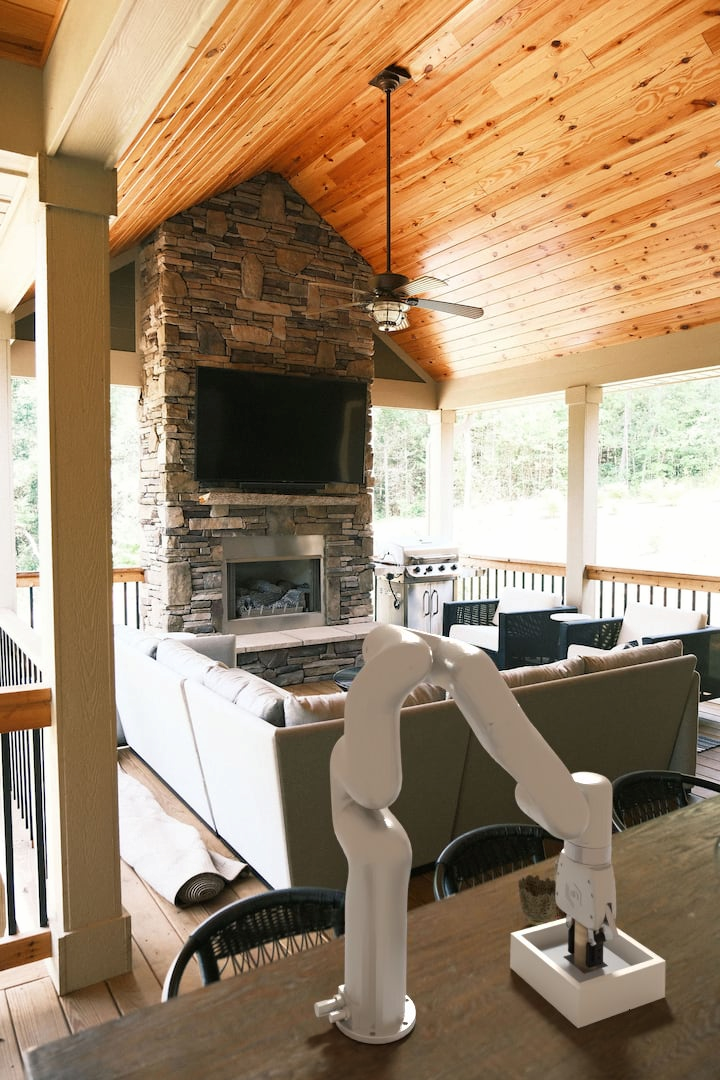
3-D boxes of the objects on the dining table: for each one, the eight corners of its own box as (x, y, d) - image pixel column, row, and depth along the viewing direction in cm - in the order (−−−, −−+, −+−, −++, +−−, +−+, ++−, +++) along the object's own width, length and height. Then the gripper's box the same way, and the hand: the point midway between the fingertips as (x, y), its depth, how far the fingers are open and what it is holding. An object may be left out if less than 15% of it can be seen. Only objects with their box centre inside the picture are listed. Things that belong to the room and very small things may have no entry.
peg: (584, 979, 123) (585, 919, 123) (569, 967, 127) (570, 908, 126) (601, 973, 125) (602, 914, 125) (586, 961, 128) (587, 904, 128)
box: (578, 1028, 114) (578, 989, 114) (510, 967, 130) (510, 933, 129) (664, 997, 122) (665, 960, 122) (591, 943, 137) (591, 910, 137)
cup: (512, 929, 142) (513, 887, 142) (523, 911, 148) (524, 871, 148) (552, 939, 138) (553, 896, 138) (561, 920, 145) (562, 880, 145)
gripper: (537, 834, 131) (535, 938, 132) (606, 875, 116) (603, 992, 117) (571, 827, 134) (569, 928, 135) (642, 866, 119) (639, 980, 120)
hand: (585, 957), depth 126 cm, fingers closed on peg, 3 cm apart
